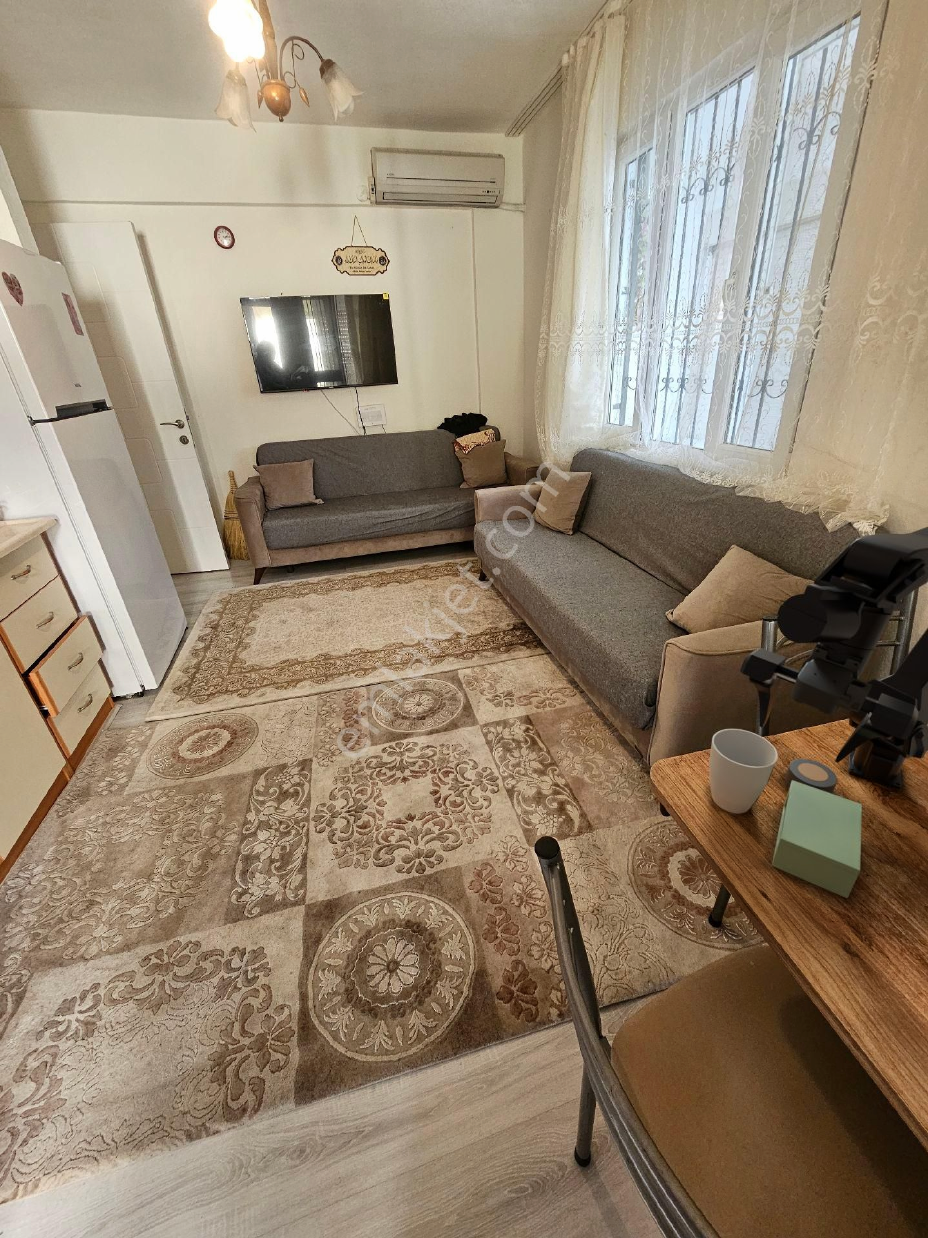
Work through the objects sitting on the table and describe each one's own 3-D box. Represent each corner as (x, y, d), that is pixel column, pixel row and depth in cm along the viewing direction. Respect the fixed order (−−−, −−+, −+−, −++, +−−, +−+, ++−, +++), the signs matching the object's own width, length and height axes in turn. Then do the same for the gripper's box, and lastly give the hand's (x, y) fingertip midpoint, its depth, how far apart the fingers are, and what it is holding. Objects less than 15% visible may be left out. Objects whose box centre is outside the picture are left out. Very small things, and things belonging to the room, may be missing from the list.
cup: (769, 825, 70) (786, 770, 66) (707, 817, 72) (720, 763, 67) (752, 783, 77) (766, 731, 73) (695, 777, 79) (706, 726, 75)
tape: (787, 768, 80) (791, 753, 79) (832, 783, 77) (838, 768, 75) (782, 791, 76) (787, 776, 74) (830, 809, 72) (836, 793, 71)
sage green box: (783, 806, 73) (791, 780, 71) (850, 831, 69) (862, 804, 67) (771, 866, 65) (780, 838, 62) (847, 899, 60) (860, 870, 58)
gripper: (748, 623, 63) (707, 728, 69) (940, 691, 51) (871, 809, 57) (773, 609, 70) (734, 704, 76) (944, 665, 59) (883, 772, 65)
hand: (797, 743), depth 68 cm, fingers open, 9 cm apart
